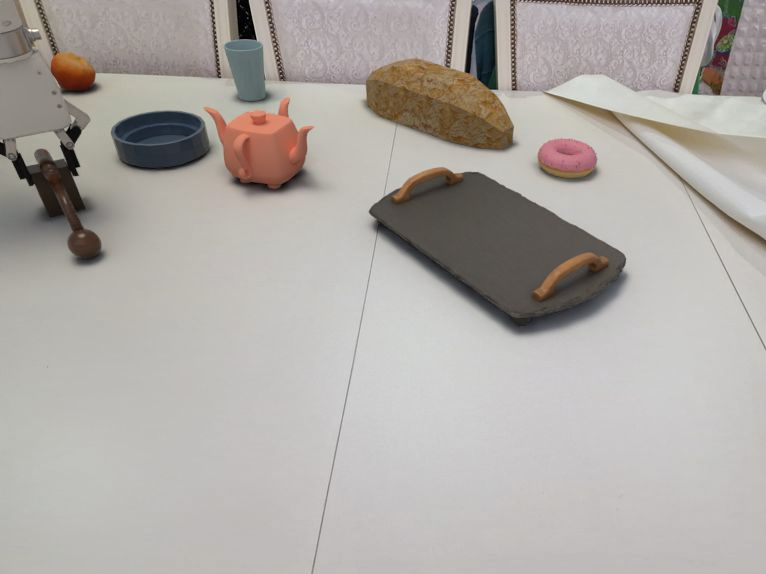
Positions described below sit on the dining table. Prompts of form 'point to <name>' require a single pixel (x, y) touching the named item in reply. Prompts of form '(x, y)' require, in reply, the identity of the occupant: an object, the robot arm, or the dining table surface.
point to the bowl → (160, 138)
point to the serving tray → (499, 242)
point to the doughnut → (567, 158)
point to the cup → (247, 68)
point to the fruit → (72, 72)
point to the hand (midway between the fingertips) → (52, 176)
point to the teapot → (262, 145)
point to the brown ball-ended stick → (68, 210)
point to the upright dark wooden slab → (48, 192)
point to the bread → (440, 103)
